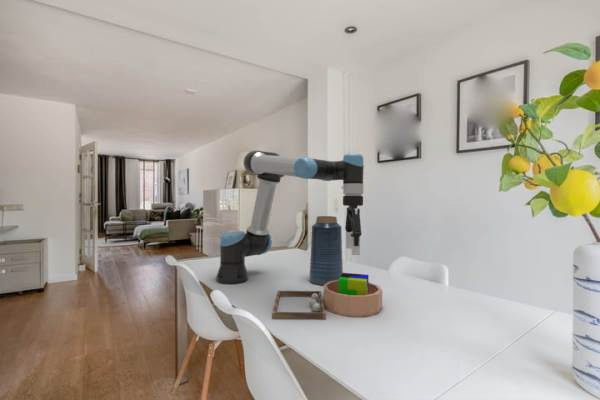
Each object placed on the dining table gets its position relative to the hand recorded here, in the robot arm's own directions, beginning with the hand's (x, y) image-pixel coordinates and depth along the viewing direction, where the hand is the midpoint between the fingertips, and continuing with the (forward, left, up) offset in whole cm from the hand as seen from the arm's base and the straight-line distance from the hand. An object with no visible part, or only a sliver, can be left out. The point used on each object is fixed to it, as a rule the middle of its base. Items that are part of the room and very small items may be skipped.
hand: (352, 251), depth 113 cm
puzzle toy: (0, +1, -20) cm, 20 cm away
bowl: (0, 0, -20) cm, 21 cm away
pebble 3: (+6, -14, -20) cm, 25 cm away
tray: (+1, -20, -20) cm, 29 cm away
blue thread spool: (-33, -7, -21) cm, 40 cm away
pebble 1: (-5, -14, -20) cm, 25 cm away
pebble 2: (+1, -14, -20) cm, 24 cm away
